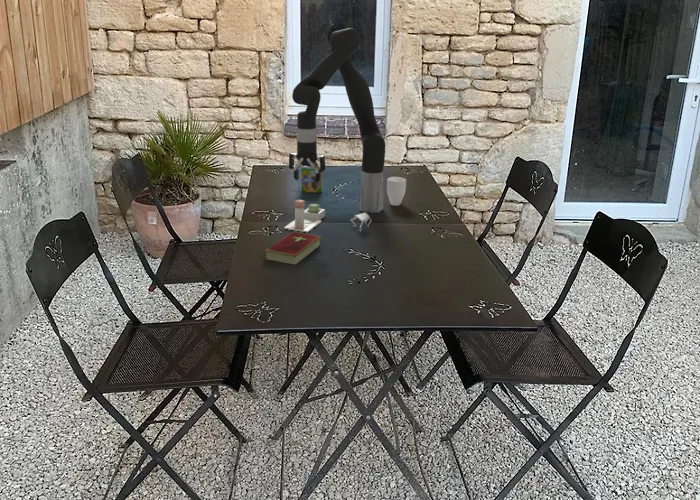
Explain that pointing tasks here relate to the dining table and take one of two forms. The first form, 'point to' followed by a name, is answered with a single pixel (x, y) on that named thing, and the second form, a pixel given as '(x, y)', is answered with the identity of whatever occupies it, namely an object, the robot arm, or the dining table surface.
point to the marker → (299, 213)
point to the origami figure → (361, 219)
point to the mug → (396, 189)
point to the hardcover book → (292, 248)
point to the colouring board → (308, 225)
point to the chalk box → (310, 180)
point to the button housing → (314, 214)
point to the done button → (314, 208)
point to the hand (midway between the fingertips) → (307, 180)
